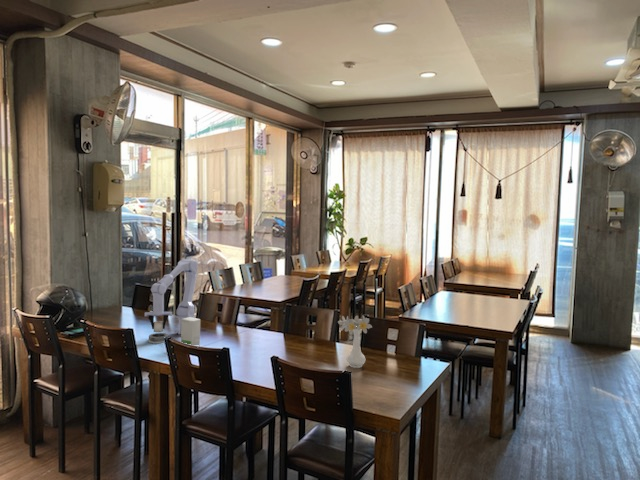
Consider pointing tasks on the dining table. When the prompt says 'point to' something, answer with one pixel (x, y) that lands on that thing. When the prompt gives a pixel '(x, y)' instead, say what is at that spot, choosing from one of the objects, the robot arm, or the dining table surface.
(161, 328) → the cap
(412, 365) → the dining table surface
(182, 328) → the skincare box
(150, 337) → the round grey ashtray
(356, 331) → the flower vase
